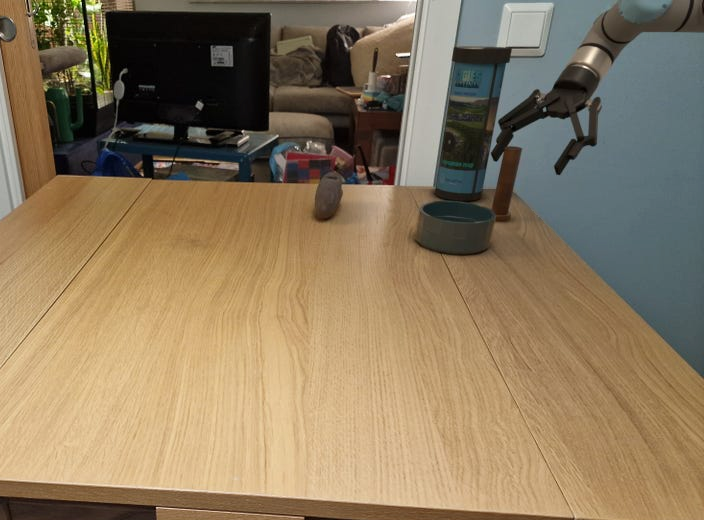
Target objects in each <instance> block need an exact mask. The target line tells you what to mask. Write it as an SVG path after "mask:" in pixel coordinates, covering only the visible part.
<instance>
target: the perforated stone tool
mask: <svg viewBox="0 0 704 520" xmlns="http://www.w3.org/2000/svg"><path fill="white" fill-rule="evenodd" d="M342 186H343V178H342V176H341V174H340V173H339V172H337V171H336V172H335V171H329V172H328V173H326V174H325V175H323V177H322V178H321V179H320V181H319V183H318V185H317V186H316V190H315V193H314V208H315V212H316V214H317V216H318V217H319V218H320V219H327V218H330V217H331V216H332V215H333V214H334V213H335V212H336V210H337V209H338V207H339V206H340V203H341V201H342V198H343V196H344V191H343V187H342Z"/></svg>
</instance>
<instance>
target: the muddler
mask: <svg viewBox="0 0 704 520" xmlns="http://www.w3.org/2000/svg"><path fill="white" fill-rule="evenodd" d="M522 152H523V148H522V147H520V146H514V145H513V146H512V145H508V146H507V147H505V149H504V152H503V154H502V159H501V163H500V169H499V172H498V178H497V182H496V187H495V191H494V196H493V199H492V200H493V201H492V206H491V210H492V211H494V212H495V214H496V219H495V222H499V223H500V222H501V223H503V222H508V221H510V220H511V213H512V212H510V211H509V210H510V206H511V202H512V197H513V193H514V188H515V183H516V180H517V179H516V178H517V174H518V171H519V165H520V161H521V156H522Z"/></svg>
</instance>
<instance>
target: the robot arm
mask: <svg viewBox="0 0 704 520" xmlns="http://www.w3.org/2000/svg"><path fill="white" fill-rule="evenodd" d="M642 33H697V34H698V33H701V34H702V33H703V34H704V0H617V1H616V2H615V3H614V4H609V5H607V6H605V8H604V9H603V10H602V12H601V13H600V14H599V15H598V17H596V19H595V20H594V21H593V22H592V26H591V28H590V29H589V31H588V32H587V34H585V37H584V38H583V40H582V41H581V43H580V45H579V47H578V48H577V49H576V50H575V52H574V53H573V55H572V56H571V57H570V59H569V61H568V62H567V63H566V65H565V67H564V69H563V70H562V71H561V73H560V75H559V76H558V78H557V79H556V80H555V82H554V84H553V86H552V88H551V90H550V91H549V92H547V93H544V92H541V90H540V89H539V88H536V89H534V90H533V91H532V92H531V94H530V95H529V96H528V97H527V98H526V99H525V100H523V101H522V102H520V103H519V104H518V105H516V106H515V107H514V108H513V109H511V110H510V111H509V112H507V113H506V114H504V115H503V116H501V118H499V119H498V120H497V123H498V126H499V130H500V133H499V134H498V136H497V137H496V138H495V143H496V144H495V145H494V147H493V149H492V150H491V151H490V155H491V158H492V160H493V162H496V163H497V162H498V161H499V160H500V158H501V157H502V156H503V153H504V149H505V147H507V146H509V144H510V143H511V142H512V140H513V139H514V137H515V135H514V133H516V132H518V131H519V130H521V129H523V128H525V127H527V126H529V125H532V124H533V123H535V122H537V121H539V120H544V119H547V118H552V119H555V118H556V119H557V118H558V119H560V120H566V119H569V118H570V122H571V124H572V128H573V131H574V134H575V138H571V139H570V140H569V142H568V143H567V145H566V146H565V148H564V150H563V151H562V153H561V154H560V156H559V157H558V159H557V160H556V162H555V163H554V165H553V168H554V172H555V175H557V176H561V174H562V173H563V172H564V170H565V168H566V167H567V165H568V164H569V162H570V160H571V161H574V160H575V159H577V157H578V156H579V154H580V153H581V151H582V150H583V148H585V147H588V146H590V147H591V148H593V147H596V146H597V144H598V132H599V131H598V130H599V129H598V128H599V127H598V126H599V114H600V112H601V111H602V108H603V105H602V100H601V97H600V96H596V97H594V98H593V99H591V98H592V97H593V95H594V93H595V92H596V90H597V89H598V87H599V85H600V84H601V83H602V81H603V80H604V78H605V77H606V75H607V73H609V71H610V69H611V68H612V66H613V64H614V63H615V61H616V59H617V58H618V57H619V56H620V54H621V52H622V51H623V50H624V48H626V47H627V46H628V45H629V44H630V43H631V42H633V41H634V40H635V39H637V37H638V36H640V35H641V34H642ZM586 108H587V111H588V113H589V114H588V130H587V131H588V132H587V133H588V134H587V135H585V134H584V132H583V131H584V130H583V128H582V125H581V122H580V119H579V115H578V113H580V112H581V111H583V110H585V109H586ZM544 109H545V111H544Z"/></svg>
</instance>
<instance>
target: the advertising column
mask: <svg viewBox="0 0 704 520" xmlns="http://www.w3.org/2000/svg"><path fill="white" fill-rule="evenodd" d="M512 51H513V47H505V46H484V45H483V46H481V45H479V46H477V45H475V46H474V45H473V46H472V45H471V46H469V45H468V46H465V45H464V46H454V47H453V50H452V56H451V62H453V69H452V70H453V71H452V77H451V84H450V90H449V95H448V96H449V97H448V102H447V109H446V110H447V111H446V117H445V121H444V129H443V135H442V141H441V150H440V156H439V163H438V169H437V174H436V181H435V188H434V195H435V196H436V197H438V198H441V199H445V200H449V201H461V202H469V201H477V200H480V199H481V197H482V195H483V190H484V184H485V179H486V174H487V168H488V164H489V163H488V162H489V157H490V154H491V147H492V141H493V135H494V130H495V126H496V120H497V114H498V109H499V104H500V99H501V92H502V88H503V81H504V77H505V71H506V65H507V64H509V63H510V62H511V56H512Z"/></svg>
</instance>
